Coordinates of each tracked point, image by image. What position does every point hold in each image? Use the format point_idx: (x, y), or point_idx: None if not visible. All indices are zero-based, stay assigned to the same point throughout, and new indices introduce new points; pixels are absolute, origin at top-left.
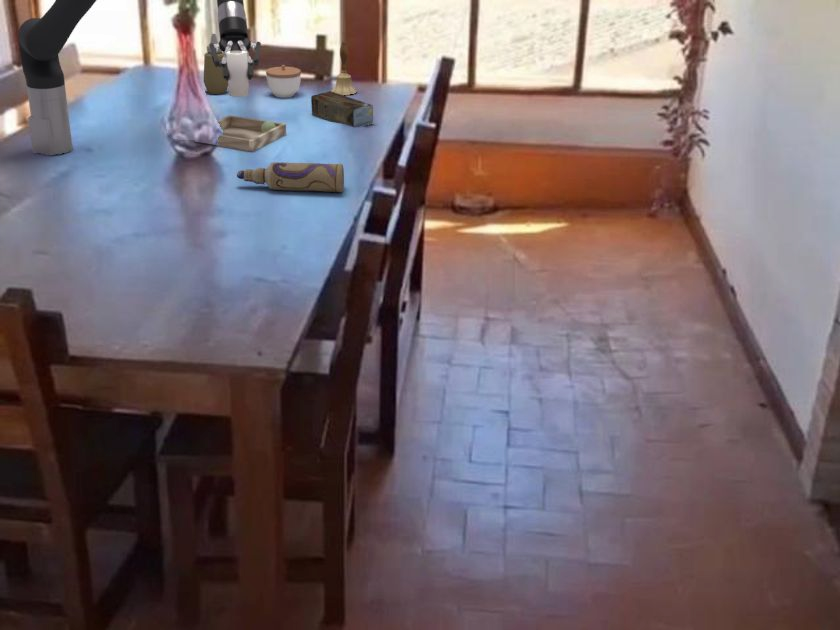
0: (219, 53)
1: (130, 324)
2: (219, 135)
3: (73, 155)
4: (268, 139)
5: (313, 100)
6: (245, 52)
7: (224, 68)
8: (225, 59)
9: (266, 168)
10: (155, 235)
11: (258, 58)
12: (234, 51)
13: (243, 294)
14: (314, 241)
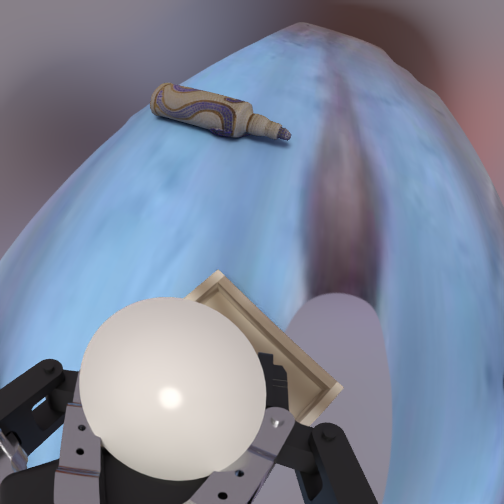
0: None
1: (365, 48)
2: (286, 338)
3: (501, 351)
4: None
5: None
6: (91, 375)
7: (274, 397)
8: (263, 432)
9: (249, 114)
10: (372, 96)
11: (39, 365)
12: (171, 452)
13: (310, 41)
14: (247, 57)
